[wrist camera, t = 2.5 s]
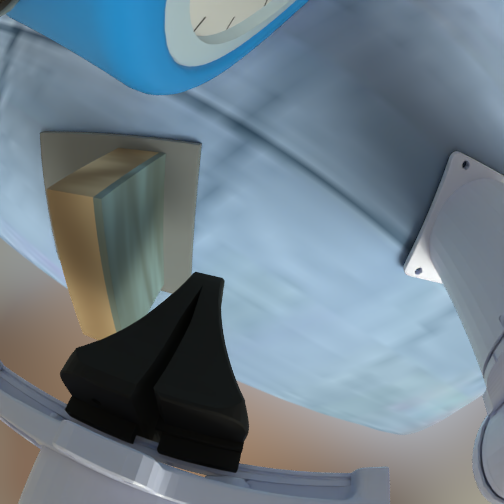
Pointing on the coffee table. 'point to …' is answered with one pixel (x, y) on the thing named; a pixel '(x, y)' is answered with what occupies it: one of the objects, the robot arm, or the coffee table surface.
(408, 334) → the coffee table surface
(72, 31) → the alarm clock
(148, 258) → the oak slab
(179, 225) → the rubber mat
